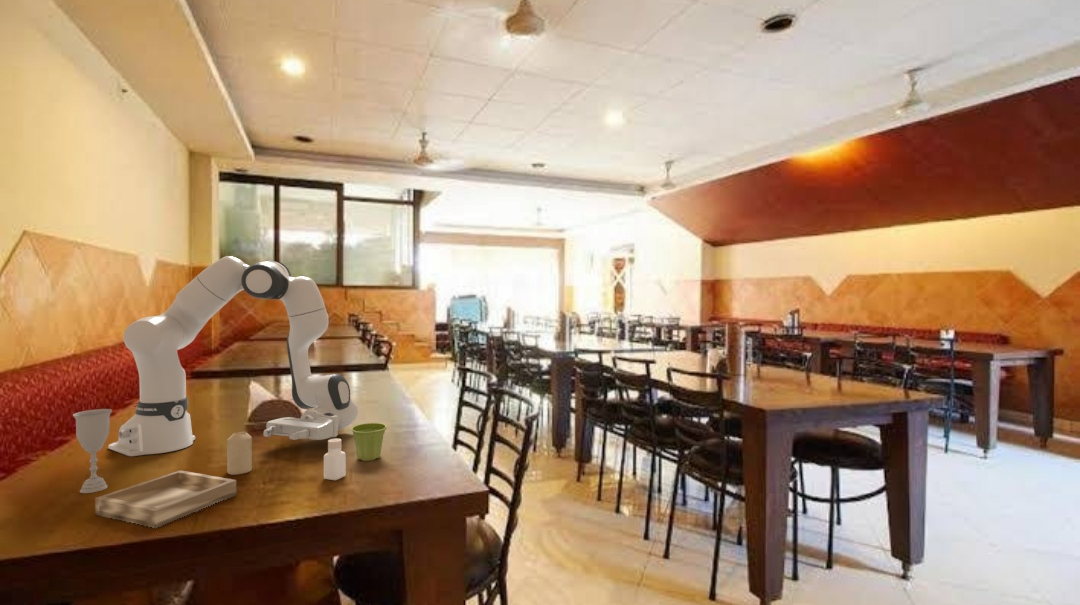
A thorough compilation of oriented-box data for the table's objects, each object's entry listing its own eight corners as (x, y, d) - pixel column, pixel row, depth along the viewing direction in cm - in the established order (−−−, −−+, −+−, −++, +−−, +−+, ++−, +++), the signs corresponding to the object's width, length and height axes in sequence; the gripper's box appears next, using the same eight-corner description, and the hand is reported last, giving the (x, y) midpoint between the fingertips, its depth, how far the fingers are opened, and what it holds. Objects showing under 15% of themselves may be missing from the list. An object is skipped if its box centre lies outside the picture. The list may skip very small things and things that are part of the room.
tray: (95, 514, 109) (95, 498, 109) (180, 484, 126) (180, 470, 126) (155, 528, 103) (155, 511, 103) (236, 495, 120) (236, 480, 120)
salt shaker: (335, 481, 129) (335, 443, 129) (322, 479, 130) (322, 441, 130) (346, 476, 133) (346, 438, 133) (334, 474, 134) (334, 437, 134)
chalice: (93, 482, 127) (92, 408, 126) (121, 483, 126) (120, 409, 126) (65, 494, 119) (64, 416, 119) (94, 495, 119) (93, 416, 119)
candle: (240, 475, 132) (240, 436, 132) (222, 474, 134) (221, 435, 133) (256, 468, 138) (256, 430, 138) (238, 466, 139) (238, 429, 139)
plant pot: (386, 461, 144) (386, 430, 144) (350, 464, 142) (350, 432, 141) (386, 451, 153) (386, 422, 153) (352, 454, 151) (352, 424, 150)
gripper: (288, 410, 163) (250, 420, 150) (341, 415, 157) (306, 427, 144) (288, 430, 164) (250, 442, 151) (341, 436, 157) (307, 450, 144)
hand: (278, 435), depth 147 cm, fingers open, 8 cm apart
